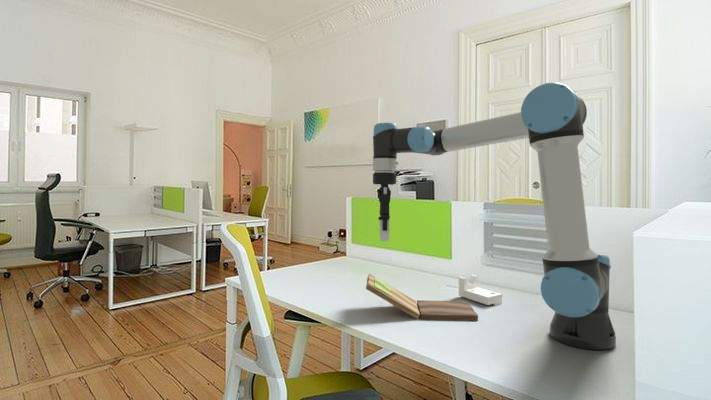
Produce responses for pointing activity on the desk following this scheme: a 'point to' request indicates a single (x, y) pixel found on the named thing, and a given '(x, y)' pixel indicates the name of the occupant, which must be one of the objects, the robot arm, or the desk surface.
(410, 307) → the board
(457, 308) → the walnut laid plank
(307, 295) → the desk surface
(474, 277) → the bracket
